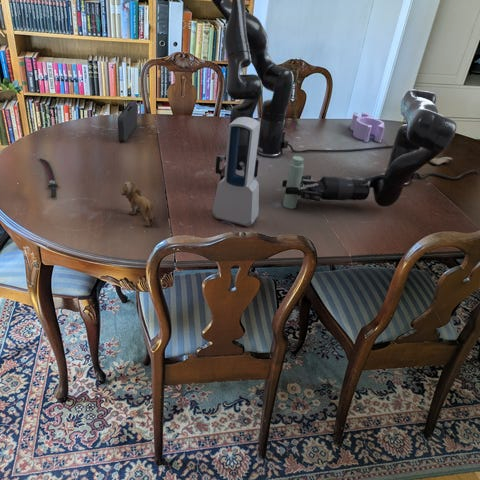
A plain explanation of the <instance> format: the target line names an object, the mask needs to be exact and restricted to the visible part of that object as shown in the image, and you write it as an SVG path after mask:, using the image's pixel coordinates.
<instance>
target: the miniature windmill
mask: <svg viewBox="0 0 480 480" xmlns="http://www.w3.org/2000/svg"><path fill="white" fill-rule="evenodd" d="M301 59H302V58H301V57H300V58H299V61H298V65H297V67H293V66H292V65H289V64H286V66H285V68H287V69H289V70H291V71H294V74H293V78H294V80H293V87H292V90H294V95H293V94H291V97H290V100H294V104H291V103H289V105H288V106H291V107H287V110H294V111H293V115H292V114H291V115H290V114H286V116H285V117H292V118H293V120H292V119H286V118H285V122H286V121H287V122H293V130H294V131H295V130H296V125H298V99H297V98H298V94H297V93H298V92H297V91H298V90H297V89H298V87H297V85H299V84H301V80H299V79H298V77H299V73H300V66H301ZM292 107H294V108H292Z"/></svg>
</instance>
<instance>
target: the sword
mask: <svg viewBox="0 0 480 480" xmlns="http://www.w3.org/2000/svg"><path fill="white" fill-rule="evenodd" d="M40 161H41V162H42V163H43V165H44V166H45V169H46V173H47V176H48V185H47V188H50V198H56V197H57V189H56V188H57V187H59V185H58V184H57V183H56V180H55V176H54V172H53V169H52V167H51V164H50V163H49V161H48V160H46V159H43V158H40Z"/></svg>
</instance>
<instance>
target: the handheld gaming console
mask: <svg viewBox="0 0 480 480" xmlns="http://www.w3.org/2000/svg"><path fill="white" fill-rule="evenodd" d="M137 124H138V103H137V101H135V100H130V101H129V102H128V103H127V105H126V106H125V107H124V108H123V109H122V110H121V111H120V114H119V115H118V116H117V139H118V141H119V142H126V141H127V140H128V138H129V137H130V135H131V134H132V132H133V131H134V129H135V128H136V126H137Z"/></svg>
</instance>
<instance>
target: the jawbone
mask: <svg viewBox="0 0 480 480" xmlns="http://www.w3.org/2000/svg"><path fill="white" fill-rule="evenodd" d="M450 160H451V161H453V158H452V157H450V156H444V157H443V156H442V157H440V158H436V157H435V158H433V159H432V160H431V161H429V162H428V163H431V164H433V165H436V166H437V165H441V164H443V163H444V164H446V165H447V164H448V163H449V161H450Z"/></svg>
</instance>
